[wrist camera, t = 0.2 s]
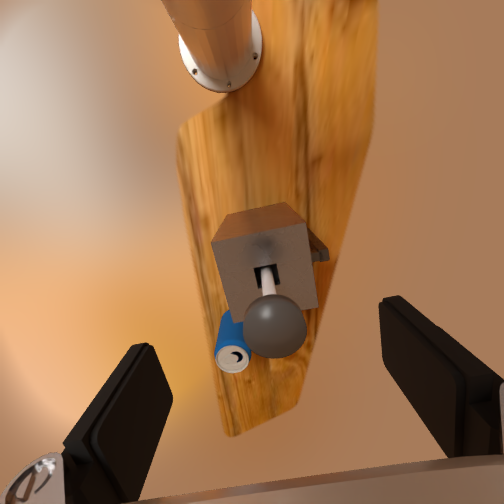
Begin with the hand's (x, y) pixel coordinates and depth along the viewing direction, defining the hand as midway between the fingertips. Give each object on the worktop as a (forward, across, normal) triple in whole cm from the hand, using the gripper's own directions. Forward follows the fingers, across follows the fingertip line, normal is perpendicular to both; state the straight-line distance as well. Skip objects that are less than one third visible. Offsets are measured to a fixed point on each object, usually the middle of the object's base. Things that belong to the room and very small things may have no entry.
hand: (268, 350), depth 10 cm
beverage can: (+39, +9, +22) cm, 45 cm away
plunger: (+28, 0, +5) cm, 28 cm away
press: (+38, -1, +5) cm, 39 cm away
